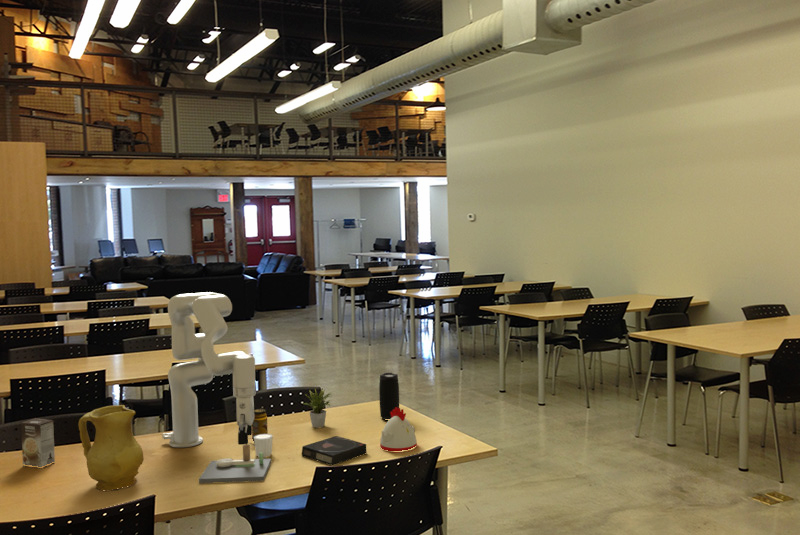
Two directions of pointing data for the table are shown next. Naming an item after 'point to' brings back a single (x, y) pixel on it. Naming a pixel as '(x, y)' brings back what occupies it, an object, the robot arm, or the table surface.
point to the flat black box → (334, 450)
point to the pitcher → (111, 447)
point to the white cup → (263, 444)
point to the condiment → (259, 423)
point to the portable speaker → (388, 394)
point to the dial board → (236, 472)
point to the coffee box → (37, 442)
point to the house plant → (318, 408)
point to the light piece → (230, 462)
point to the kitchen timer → (398, 433)
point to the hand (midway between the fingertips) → (245, 439)
